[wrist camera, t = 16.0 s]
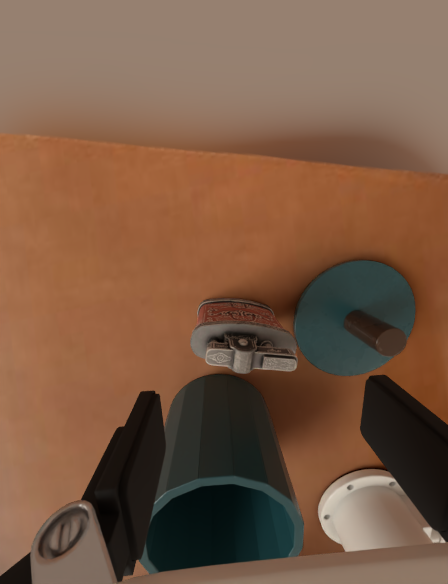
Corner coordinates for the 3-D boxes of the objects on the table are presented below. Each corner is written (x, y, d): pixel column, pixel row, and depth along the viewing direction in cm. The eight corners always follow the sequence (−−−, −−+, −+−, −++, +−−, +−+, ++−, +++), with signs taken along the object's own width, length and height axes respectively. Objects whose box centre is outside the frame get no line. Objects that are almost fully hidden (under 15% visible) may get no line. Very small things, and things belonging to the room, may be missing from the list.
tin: (267, 370, 26) (306, 470, 15) (267, 454, 29) (301, 591, 17) (163, 377, 26) (124, 484, 14) (173, 461, 28) (147, 605, 17)
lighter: (196, 325, 24) (184, 382, 15) (199, 294, 24) (188, 333, 14) (269, 331, 25) (305, 391, 15) (274, 302, 24) (315, 344, 14)
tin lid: (414, 256, 24) (482, 261, 18) (398, 366, 26) (452, 403, 20) (292, 262, 23) (320, 270, 17) (290, 373, 26) (312, 413, 20)
